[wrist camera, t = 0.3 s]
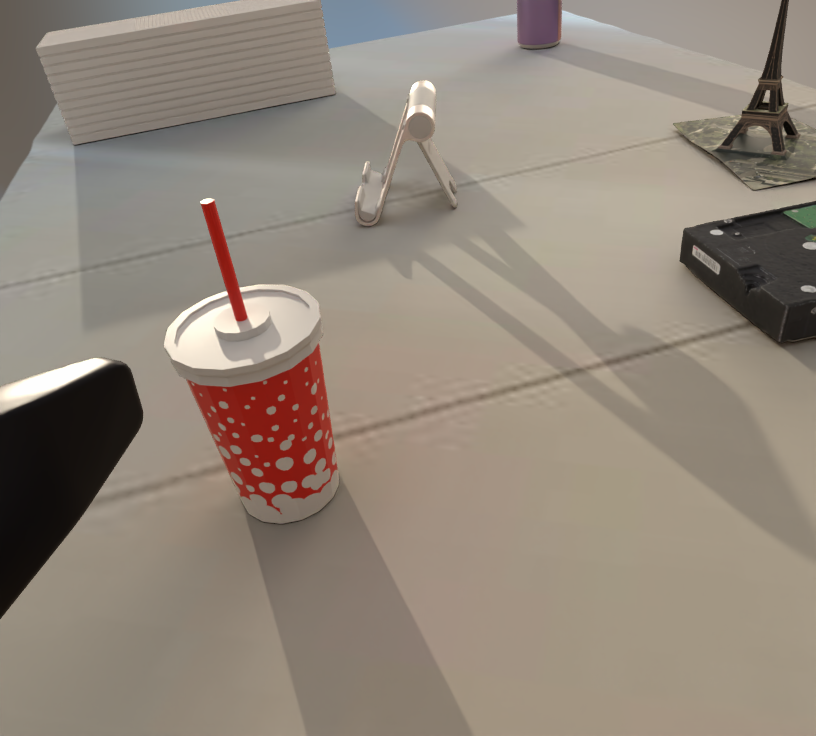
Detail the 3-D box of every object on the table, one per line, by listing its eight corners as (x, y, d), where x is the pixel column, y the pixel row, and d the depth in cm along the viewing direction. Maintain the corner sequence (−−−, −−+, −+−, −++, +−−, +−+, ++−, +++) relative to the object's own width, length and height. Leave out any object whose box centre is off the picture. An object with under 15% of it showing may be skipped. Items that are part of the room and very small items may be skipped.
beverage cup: (372, 508, 31) (313, 210, 23) (235, 556, 29) (118, 258, 21) (336, 427, 35) (275, 156, 27) (216, 465, 34) (115, 192, 26)
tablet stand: (367, 185, 62) (352, 87, 57) (456, 178, 61) (449, 77, 56) (357, 227, 55) (339, 120, 50) (457, 219, 54) (449, 109, 49)
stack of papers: (73, 145, 82) (35, 47, 76) (80, 122, 91) (46, 32, 85) (336, 94, 88) (320, -1, 82) (319, 76, 97) (304, -11, 90)
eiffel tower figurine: (882, 169, 53) (942, -32, 45) (753, 190, 52) (791, -9, 45) (773, 114, 65) (805, -52, 57) (667, 131, 65) (685, -34, 57)
